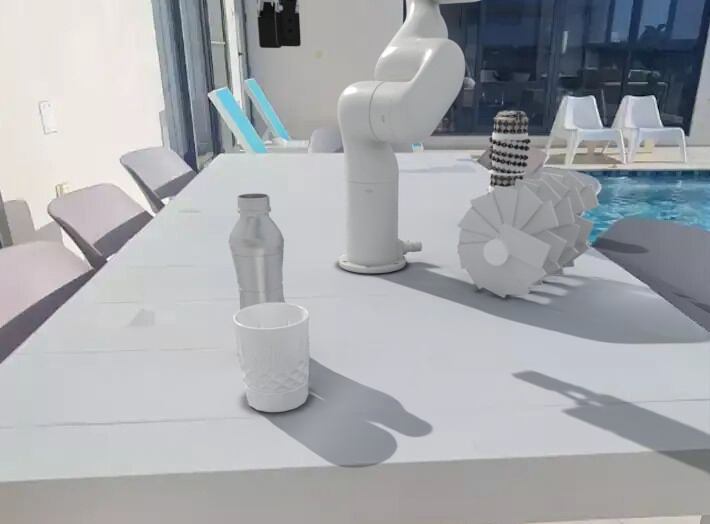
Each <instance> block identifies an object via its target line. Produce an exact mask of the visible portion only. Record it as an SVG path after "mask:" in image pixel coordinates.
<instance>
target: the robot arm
mask: <svg viewBox="0 0 710 524" xmlns="http://www.w3.org/2000/svg"><path fill="white" fill-rule="evenodd" d="M480 1H481V0H405V4H406V15H405V20H404V22H403V23H402V25H401V27H400V28H399V29H398V31H397V32H396V33H395V35H394V36H393V38H392V39H391V40H390V42H389V43H388V44H387V46H386V47H385V49H384V50H383V51H382V52H381V54H380V56H379V58H378V60H377V62H376V64H375V68H374V80H362V81H357V82H354V83H352V84H350V85H348V86H347V87H345V88H344V90H343V91H342V92H341V93H340V95H339V98H338V101H337V106H336V114H337V122H338V125H339V126H338V127H339V130H340V136H341V140H342V149H343V156H344V157H343V159H344V183H345V184H344V187H345V188H344V189H345V221H346V222H345V223H346V224H345V226H346V227H345V228H346V229H345V230H346V253H344V254H342V255H340V256H339V258H338V265H339V267H341V268H342V269H343V270H345V271H349V272H352V273H353V272H354V273H358V274H359V273H360V274H386V273H393V272H396V271H400V270H401V269H404V268H405V266H406V265H407V258H406V257H405V255H407V254H408V253H418V252H422V250H423V245H422V242H421V241H420V240H417V241H410V240H409V239H408V240H402V239H400V238H399V179H400V176H399V173H400V172H399V170H400V169H399V163H398V159H397V156H396V154H395V152H394V149H393V148H392V145H391V144H401V145H419V144H421V143H423V142H425V141H426V140H427V139H428V138H430V136H431V135H432V134H433V133H434V132H435V130H436V128H437V127H438V126H439V124H440V123H441V121H442V120H443V118H444V117H445V115H446V114H447V112H448V111H449V109H450V108H451V106H452V105H453V103H454V102H455V100H456V98H457V97H458V96H459V93H460V92H461V89H462V87H463V83H464V80H465V73H466V60H465V55H464V52H463V50H462V48H461V47H460V46H459V44H458V43H457V42H455V41H454V40H453V39H452V40H451V39H449V31H448V26H447V24H446V22H445V19H444V17H443V16H442V15H441V10H440V5H448V4H465V3H474V2H480ZM256 4H257V5H256V6H257V8H256V14H257V17H256V19H257V31H258V45H259V48H262V49H281V48H282V47H300V46H301V45H302V43H301V42H302V41H301V19H300V3H299V0H256Z"/></svg>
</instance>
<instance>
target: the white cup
mask: <svg viewBox="0 0 710 524" xmlns="http://www.w3.org/2000/svg"><path fill="white" fill-rule="evenodd" d="M232 321H233V326H234V327H233V328H234V334H235V341H236V345H237V346H236V347H237V353H238V359H239V364H240V370H241V376H242V381H243V382H244V387H245V394H246V399H247V403H248V406H249V407H251V408H253V409H255V410H256V411H260V412H266V413H283V412H287V411H291V410H295V409H298V408H299V407H301V406H302V405H304V404H305V403H306V401H307V400H308V397H309V375H310V313H309V310H307V308H305V307H304V306H301V305H298V304H295V303H291V302H289V303H288V302H285V303H263V304H257V305H252V306H249V307H246V308H243V309H241V310H240V309H239V310H238V311H236V312H235V313H234V314H233V316H232Z"/></svg>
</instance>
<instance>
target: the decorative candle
mask: <svg viewBox="0 0 710 524" xmlns="http://www.w3.org/2000/svg"><path fill="white" fill-rule="evenodd" d="M492 119H493V120H494V124H493V132H492V135H491V137H489V138H488V141H489V143H491V145H490V146H489V147H488V150H489V152H490V153H489V154H488V159H490V160H491V161H490V162H489V163H488V168H490V169H488V173H489V174H490V177H489V181H490V183H489V185H488V193H487V194H489V193H491V191H494V186H495V185H497V186H501V187H508V186H512V185H515V181H516V179H520V180H523V179H524V176H525V175H526V174H527V171H526V170H524V169H525V167H527V166H528V163H527V162H526V161H527V160H528V159H529V156H528V155H527V154H526V153H527V152H528V151H530V150H531V149H530V147H529V146H528V145H529V144H530V143H531V139H529V133H528V131H529V118H528V117H527V113H526V112H524V111H522V110H500V111H498V113H497V114H496V116H495V117H492Z"/></svg>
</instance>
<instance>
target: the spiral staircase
mask: <svg viewBox="0 0 710 524" xmlns="http://www.w3.org/2000/svg"><path fill="white" fill-rule="evenodd" d="M488 193H489V192H488ZM488 193H485V194H483V195H481V196H478V197H475V198H472V199H470V200H469V201H470V205H471V207H470V208H469V210H468V211H467V212H466V213H465V214H464V216H463V217H462V219H461V220H460V221H459V222H458V224H457V227H459V229H460V230H459V237H458V238H459V239H458V244H457V254H458V256H459V261H460V268H461V269H462V270H465V271H466V272H467V274H468V275H469V277H470V278H471V279H472V281H473V282H474V284H475V285H476V287H477V288H478V289H479V290H481V289H483V288H484V289H486V290H488V291H490V292H492V293H493V294H495V295H497V296H499V297H502V298H503V299H505V298H506V296H507V295H529V294H530V293H531V292H530V291H531V290H530V286H543V279H544V278H546V277H550V276H555V275H561V274H564V273H565V270H564V268H575V260H576V259H577V258H579V257H580V256H582V255H583V254H585V253H586V252H587V251H588V250H590V249H591V246H590V245H589V244H588V240H589V238H590V235H591V233H592V230H593V228H594V225H595V222H594V221H592V220H590V219H587V218H585V217H583V216H580V215H578V214H581V213H583V212H586V211H590V210H592V209H595V208H598V207H600V206H601V205H600V203H599V202H600V201H599V199H598V197H597V194H596V189H595V187H594V184H593V183H590V184H587V185H585V184H584V183H583V182H582V181H581V180H580V179H578V178H577V177H576V176H575V175H574V174H573V173H571V171H569V170H568V171H566V172H565V173H564V175H562V174H561V175H560V174H556V173H555V174H554V173H549V172H543V171H542V172H540V178H539V177H538V178H536V179H533V178H525V177H523V180H520V179H516V181H515V185H512V186H508V187H501V186H497V185H495V186H494V191H491V193H489V194H488Z"/></svg>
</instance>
